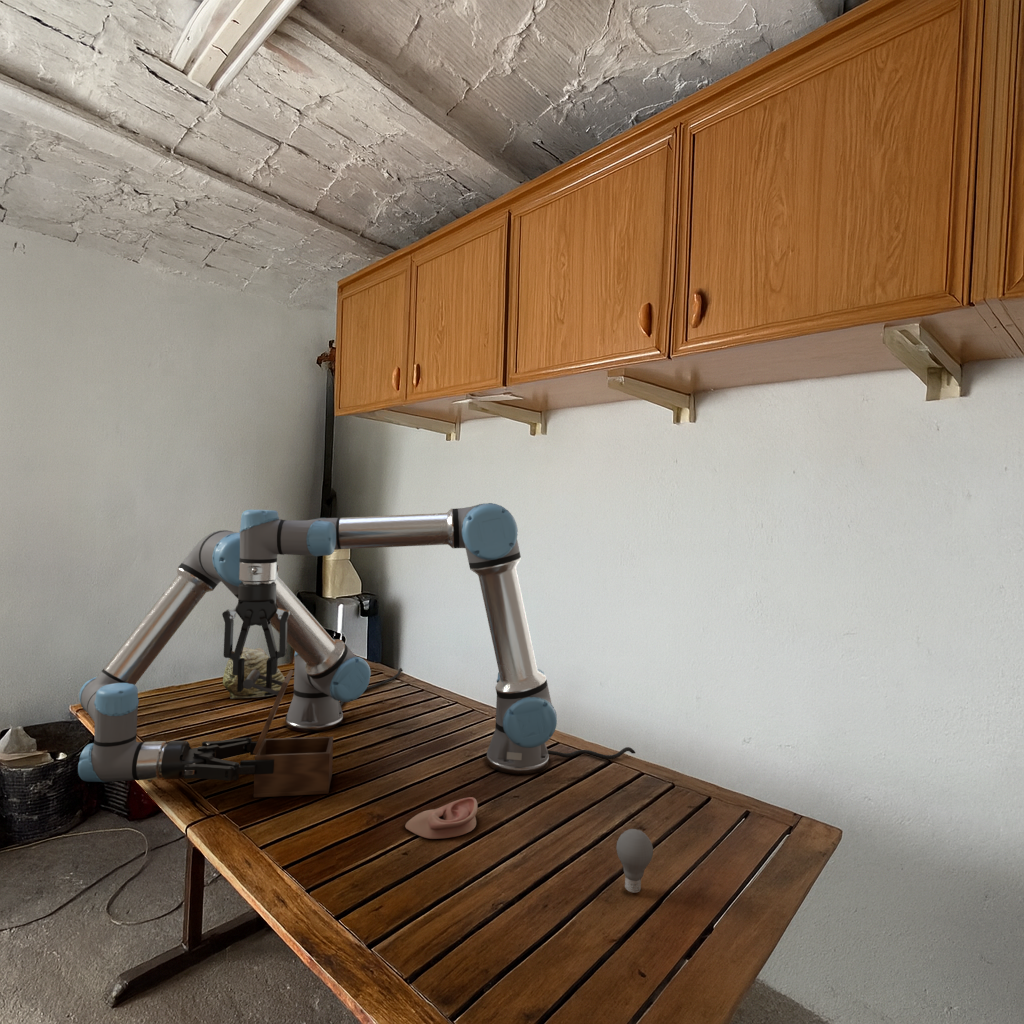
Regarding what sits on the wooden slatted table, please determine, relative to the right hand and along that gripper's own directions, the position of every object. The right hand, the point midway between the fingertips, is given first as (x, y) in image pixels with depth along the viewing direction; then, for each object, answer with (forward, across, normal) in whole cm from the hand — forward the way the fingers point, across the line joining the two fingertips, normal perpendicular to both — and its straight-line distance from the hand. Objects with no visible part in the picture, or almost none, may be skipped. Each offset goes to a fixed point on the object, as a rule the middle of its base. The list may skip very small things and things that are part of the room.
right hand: (254, 689), depth 136 cm
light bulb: (+22, +69, -45) cm, 85 cm away
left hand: (+15, +5, 0) cm, 16 cm away
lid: (+5, +4, 0) cm, 7 cm away
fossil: (+21, -12, +65) cm, 70 cm away
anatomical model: (+22, +39, -20) cm, 49 cm away
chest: (+21, +9, 0) cm, 23 cm away
